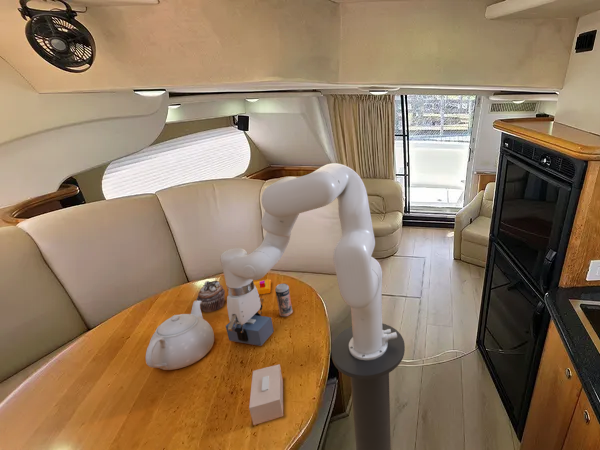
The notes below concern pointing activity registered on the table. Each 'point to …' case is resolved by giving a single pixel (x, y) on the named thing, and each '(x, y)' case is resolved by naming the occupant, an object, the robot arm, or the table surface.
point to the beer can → (283, 299)
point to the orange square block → (263, 286)
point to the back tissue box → (254, 330)
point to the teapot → (180, 341)
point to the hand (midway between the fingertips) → (251, 332)
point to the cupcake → (211, 296)
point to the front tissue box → (266, 394)
